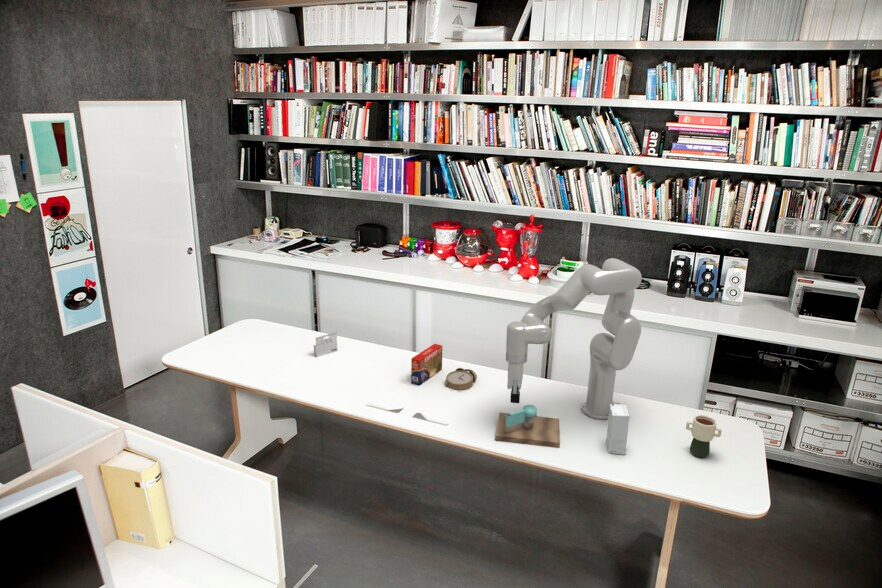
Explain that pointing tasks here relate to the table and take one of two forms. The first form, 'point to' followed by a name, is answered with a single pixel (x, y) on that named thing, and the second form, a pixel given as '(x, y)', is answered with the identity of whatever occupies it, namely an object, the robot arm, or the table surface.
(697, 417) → the character mug
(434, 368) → the toy box
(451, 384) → the alarm clock
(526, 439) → the post block
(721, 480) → the table surface
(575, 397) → the table surface
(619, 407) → the skincare box
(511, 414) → the teal lever handle
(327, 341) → the ink cartridge box
